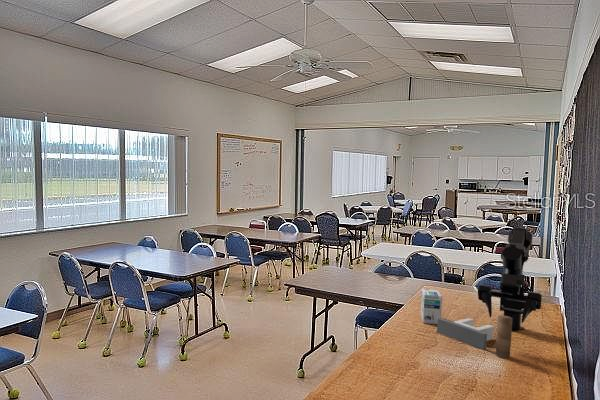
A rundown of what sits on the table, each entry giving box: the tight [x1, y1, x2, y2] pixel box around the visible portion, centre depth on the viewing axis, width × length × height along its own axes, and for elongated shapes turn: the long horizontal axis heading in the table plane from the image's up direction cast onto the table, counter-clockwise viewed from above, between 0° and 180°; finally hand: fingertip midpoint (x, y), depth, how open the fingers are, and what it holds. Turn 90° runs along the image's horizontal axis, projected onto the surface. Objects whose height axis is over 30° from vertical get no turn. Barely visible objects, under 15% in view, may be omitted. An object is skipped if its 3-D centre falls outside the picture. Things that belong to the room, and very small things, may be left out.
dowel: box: [495, 315, 513, 359], centre depth 142 cm, size 4×4×12 cm
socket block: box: [453, 317, 495, 342], centre depth 158 cm, size 9×10×4 cm
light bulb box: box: [420, 288, 443, 325], centre depth 176 cm, size 11×7×11 cm, turn 170°
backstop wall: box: [436, 317, 488, 350], centre depth 154 cm, size 2×18×5 cm, turn 35°
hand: (506, 319), depth 145 cm, fingers open, 9 cm apart
